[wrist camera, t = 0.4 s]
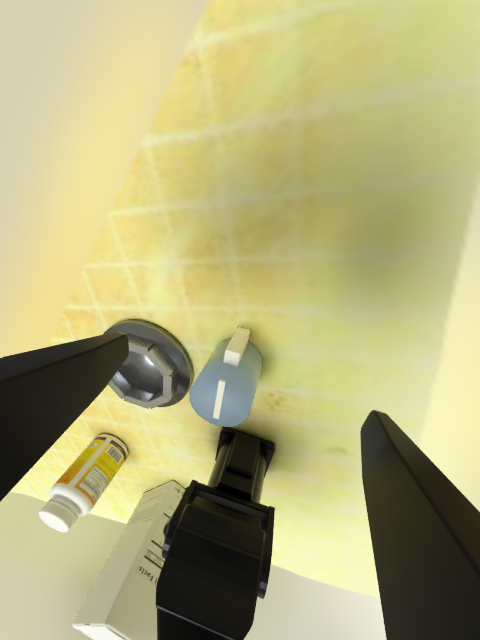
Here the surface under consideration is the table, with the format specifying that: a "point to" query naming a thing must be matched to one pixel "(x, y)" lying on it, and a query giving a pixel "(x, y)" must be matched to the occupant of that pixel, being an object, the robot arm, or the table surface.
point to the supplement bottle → (83, 482)
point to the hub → (151, 366)
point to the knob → (228, 381)
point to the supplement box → (131, 574)
